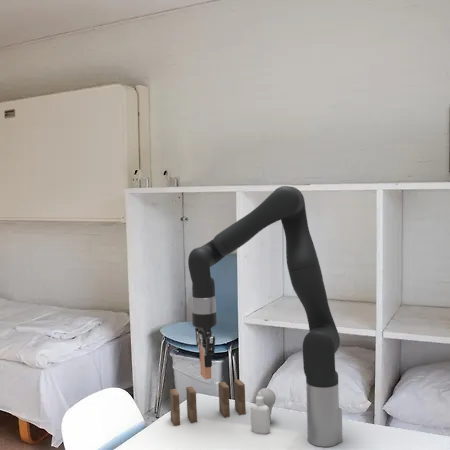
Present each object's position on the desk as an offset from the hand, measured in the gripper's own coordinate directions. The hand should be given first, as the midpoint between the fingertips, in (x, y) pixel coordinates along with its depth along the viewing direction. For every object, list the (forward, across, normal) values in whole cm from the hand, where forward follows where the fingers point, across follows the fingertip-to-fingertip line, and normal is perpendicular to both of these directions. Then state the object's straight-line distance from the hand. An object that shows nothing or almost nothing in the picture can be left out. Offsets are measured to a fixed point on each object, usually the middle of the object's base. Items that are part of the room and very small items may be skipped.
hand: (205, 363), depth 167 cm
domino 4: (+20, +6, -8) cm, 22 cm away
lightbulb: (+20, -6, -18) cm, 27 cm away
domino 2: (+20, +6, +3) cm, 21 cm away
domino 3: (+4, 0, 0) cm, 4 cm away
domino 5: (+20, +6, -13) cm, 24 cm away
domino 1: (+20, +6, +9) cm, 23 cm away
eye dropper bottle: (+20, -10, -14) cm, 26 cm away
